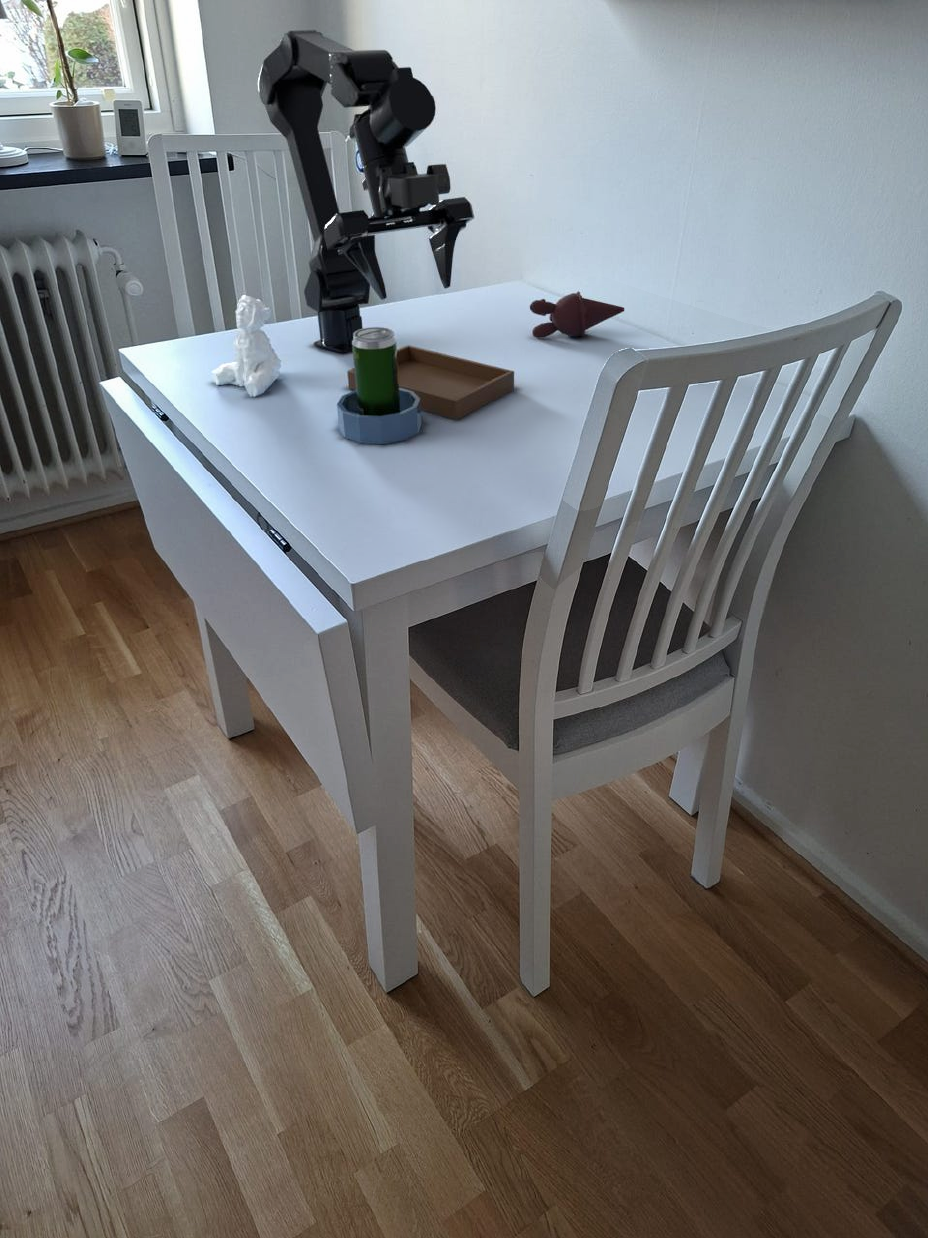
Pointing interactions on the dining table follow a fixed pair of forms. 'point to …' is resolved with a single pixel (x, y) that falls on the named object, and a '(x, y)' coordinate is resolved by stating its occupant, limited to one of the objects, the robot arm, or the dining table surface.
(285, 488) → the dining table surface
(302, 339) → the dining table surface
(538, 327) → the icecream
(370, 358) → the beer can
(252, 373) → the white creature statuette
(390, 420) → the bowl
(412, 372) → the tray
